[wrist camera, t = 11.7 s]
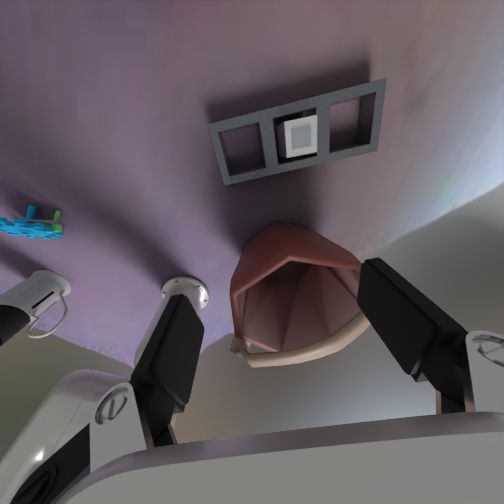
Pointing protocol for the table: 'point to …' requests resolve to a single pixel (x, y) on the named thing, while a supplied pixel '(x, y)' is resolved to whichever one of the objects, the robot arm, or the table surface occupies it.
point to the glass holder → (31, 303)
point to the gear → (33, 226)
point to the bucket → (294, 296)
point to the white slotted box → (297, 137)
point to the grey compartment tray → (318, 106)
